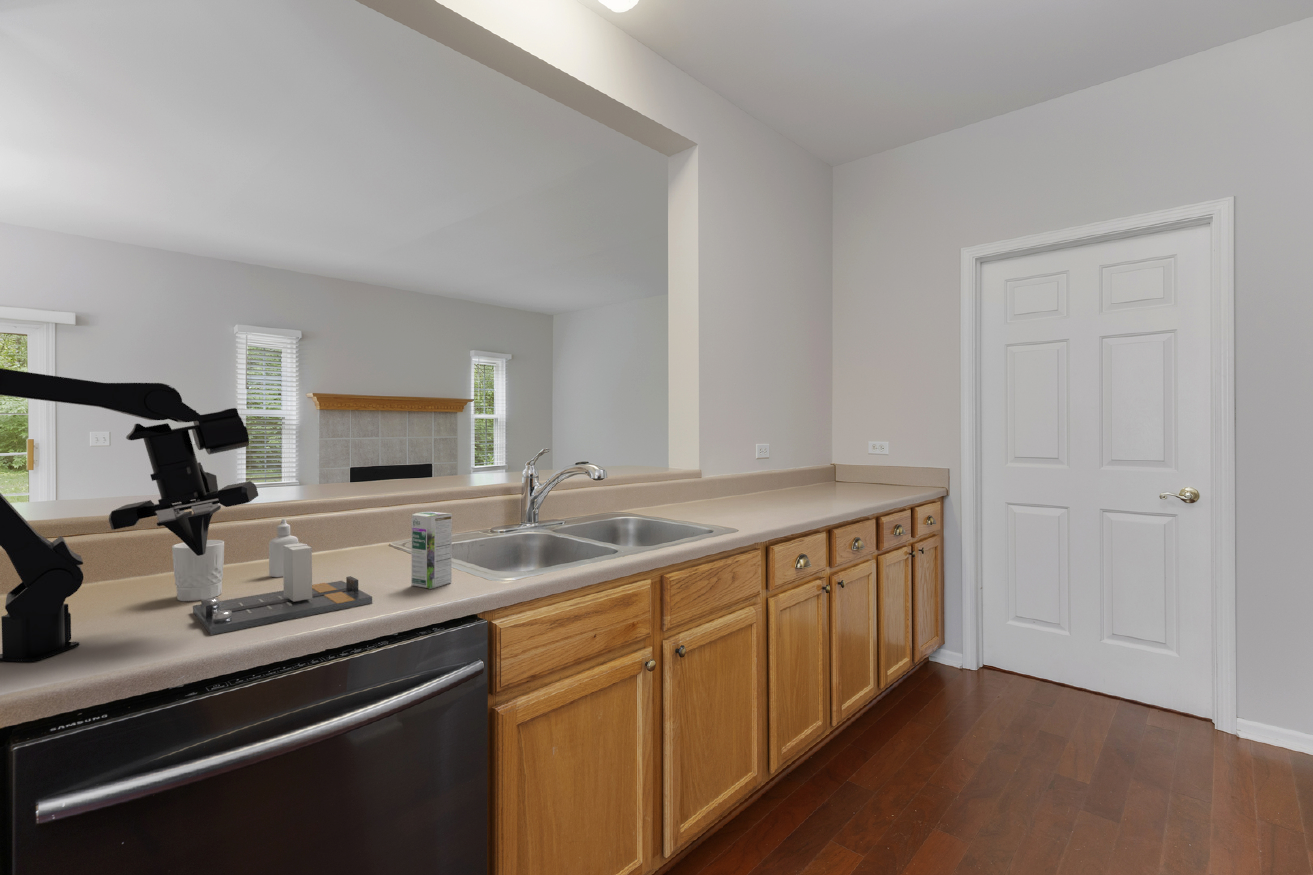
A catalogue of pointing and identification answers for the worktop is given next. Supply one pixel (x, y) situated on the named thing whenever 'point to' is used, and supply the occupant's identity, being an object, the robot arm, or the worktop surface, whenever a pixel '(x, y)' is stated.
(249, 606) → the board
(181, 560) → the white cup
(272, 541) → the eye dropper bottle
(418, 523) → the syrup box
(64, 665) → the worktop surface
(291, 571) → the fader
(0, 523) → the robot arm
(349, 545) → the worktop surface
